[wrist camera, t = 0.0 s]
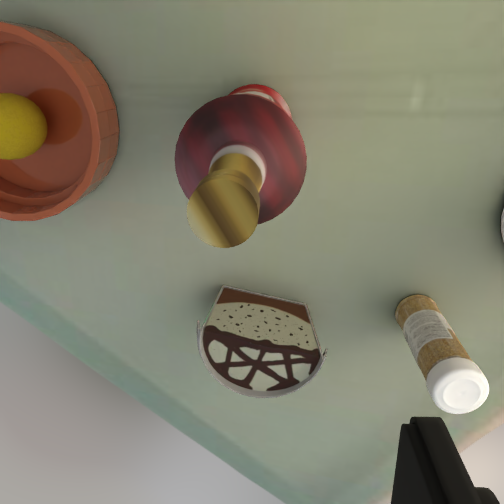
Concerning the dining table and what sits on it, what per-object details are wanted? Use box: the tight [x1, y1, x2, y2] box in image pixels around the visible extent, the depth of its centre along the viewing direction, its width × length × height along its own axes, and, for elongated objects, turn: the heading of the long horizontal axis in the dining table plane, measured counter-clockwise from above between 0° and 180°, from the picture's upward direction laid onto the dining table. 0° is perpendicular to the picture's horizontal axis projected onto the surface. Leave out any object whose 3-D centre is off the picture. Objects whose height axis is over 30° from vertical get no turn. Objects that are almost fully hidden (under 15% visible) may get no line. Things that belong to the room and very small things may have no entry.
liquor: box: [175, 84, 307, 248], centre depth 30 cm, size 7×7×28 cm
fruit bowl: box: [0, 21, 119, 221], centre depth 41 cm, size 16×16×6 cm
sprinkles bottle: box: [395, 295, 489, 414], centre depth 43 cm, size 5×5×13 cm
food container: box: [197, 285, 327, 398], centre depth 46 cm, size 12×6×10 cm, turn 77°
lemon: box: [0, 93, 48, 160], centre depth 40 cm, size 6×6×8 cm
